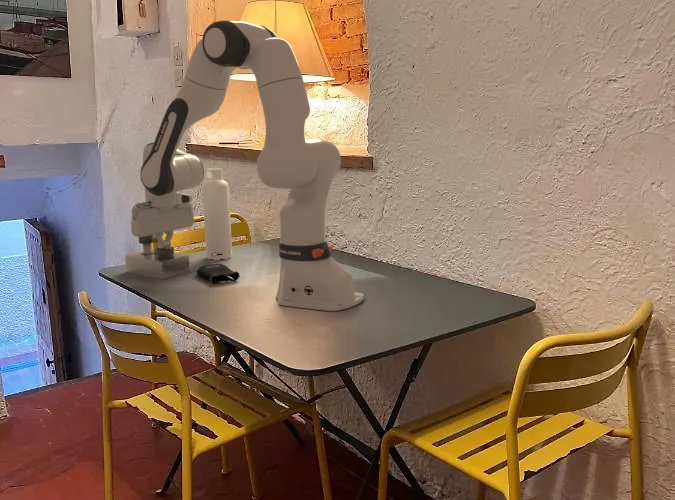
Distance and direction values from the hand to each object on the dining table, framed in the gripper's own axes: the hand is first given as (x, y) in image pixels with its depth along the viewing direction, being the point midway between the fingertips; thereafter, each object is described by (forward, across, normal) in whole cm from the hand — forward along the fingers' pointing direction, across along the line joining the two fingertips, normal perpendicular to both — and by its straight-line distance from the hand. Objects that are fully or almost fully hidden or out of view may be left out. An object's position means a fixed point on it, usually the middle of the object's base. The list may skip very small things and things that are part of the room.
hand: (165, 247), depth 198 cm
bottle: (+8, +23, +2) cm, 24 cm away
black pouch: (+8, +5, -15) cm, 18 cm away
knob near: (+7, 0, 0) cm, 7 cm away
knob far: (+4, 0, +8) cm, 9 cm away
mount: (+8, 0, +4) cm, 9 cm away
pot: (+3, 0, +4) cm, 5 cm away
